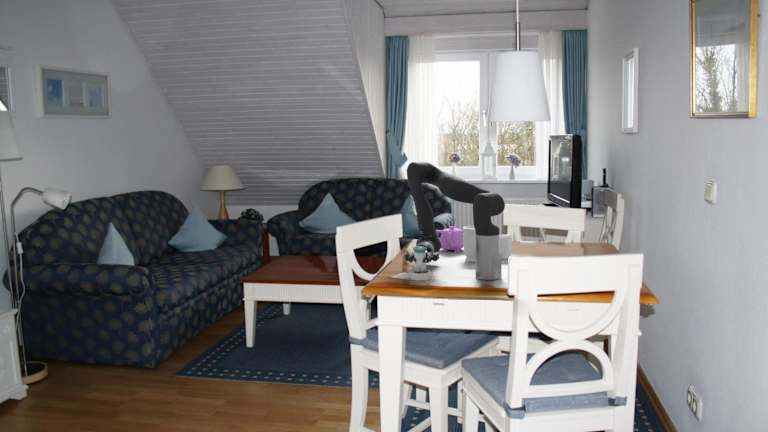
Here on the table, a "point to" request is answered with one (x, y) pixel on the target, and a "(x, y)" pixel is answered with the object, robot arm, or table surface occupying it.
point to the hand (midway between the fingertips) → (419, 260)
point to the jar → (469, 243)
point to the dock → (415, 276)
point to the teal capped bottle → (419, 259)
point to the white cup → (505, 245)
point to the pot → (451, 239)
